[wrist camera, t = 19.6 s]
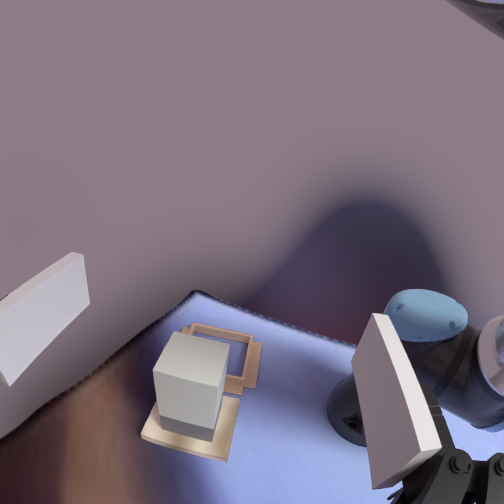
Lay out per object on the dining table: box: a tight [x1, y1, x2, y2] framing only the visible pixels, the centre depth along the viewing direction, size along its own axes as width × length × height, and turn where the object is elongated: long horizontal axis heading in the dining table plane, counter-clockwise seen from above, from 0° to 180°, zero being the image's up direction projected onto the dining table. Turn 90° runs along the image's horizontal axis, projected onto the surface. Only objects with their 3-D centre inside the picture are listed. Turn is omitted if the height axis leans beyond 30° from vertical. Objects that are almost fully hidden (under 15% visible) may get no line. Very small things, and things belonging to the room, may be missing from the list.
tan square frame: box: [180, 323, 262, 396], centre depth 48 cm, size 16×16×2 cm
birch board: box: [141, 396, 240, 462], centre depth 34 cm, size 12×11×2 cm
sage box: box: [153, 331, 230, 442], centre depth 31 cm, size 7×7×13 cm
